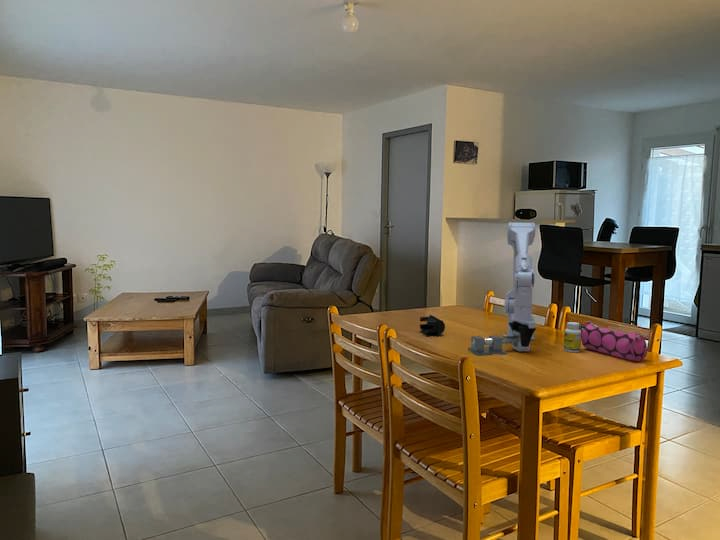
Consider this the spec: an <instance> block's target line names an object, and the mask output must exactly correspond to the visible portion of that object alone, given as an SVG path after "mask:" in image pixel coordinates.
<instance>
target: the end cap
mask: <svg viewBox="0 0 720 540" xmlns="http://www.w3.org/2000/svg"><path fill="white" fill-rule="evenodd" d="M419 322H426V323H424V324H419V329H420V333H421V334H422V333H423V334H422V335H424V336H425V335H426V337H427V338H428V337H430V338H431V336H433V337H439V336H440V335H442V334H443V333H444V332H445V331H446V324H445V322H444V321H443V320H442V319H440V318H438V317H436V316H434V315H432V314H429V316H420V318H419Z"/></svg>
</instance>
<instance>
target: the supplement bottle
mask: <svg viewBox="0 0 720 540" xmlns="http://www.w3.org/2000/svg"><path fill="white" fill-rule="evenodd" d="M566 327H567V328H565V329H564V335H563V336H564V340H563V341H564V342H563V350H564V351H565V352H569V353H580V352H581V349H582V348H581V347H582V346H581V345H582V341H581V332H582V330H581V329H580V323H579V322H576V321H575V322H574V321H569V322H566Z"/></svg>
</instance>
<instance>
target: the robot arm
mask: <svg viewBox="0 0 720 540" xmlns="http://www.w3.org/2000/svg"><path fill="white" fill-rule="evenodd" d="M506 228H507V229H506V230H507V232H506V238H507V245H510V246H512V251H513V263H512V264H513V267H512V270H513V272H512V274H513V276H512V288H511V290H508V291H507V292H506V293H505V295H504V296H505V297H504V313H505V314H507V334H505V333H503V335H502V337H506V336H513V330H520V333H521V342H522V346H523V347H529V344H530V345H531V341H532V340H536V338H535V331H536V330H537V327H536V324H537V323H536V321H535V319H534V316H533V315H532V313H533V312H532V311H533V289H534V286H535V281H536V279H535V278H536V277H535V271H534V268H533V262H532V261H533V260H532V256H531V255H530V254H529V246H531V245H533V243H534V240H535V237H536V224H535V222H533V221H532V222H514V221H513V222H511V221H509V222H508V223H507V227H506Z"/></svg>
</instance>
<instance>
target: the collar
mask: <svg viewBox="0 0 720 540" xmlns="http://www.w3.org/2000/svg"><path fill="white" fill-rule="evenodd" d="M513 336H517V337H518V343H515V344H512V345H511V347H512V350H513V349H514V350H516V351H517V352H530V351H531V343H530V344H529V347H523V346H522V342H521V333H520V330H513Z"/></svg>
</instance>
